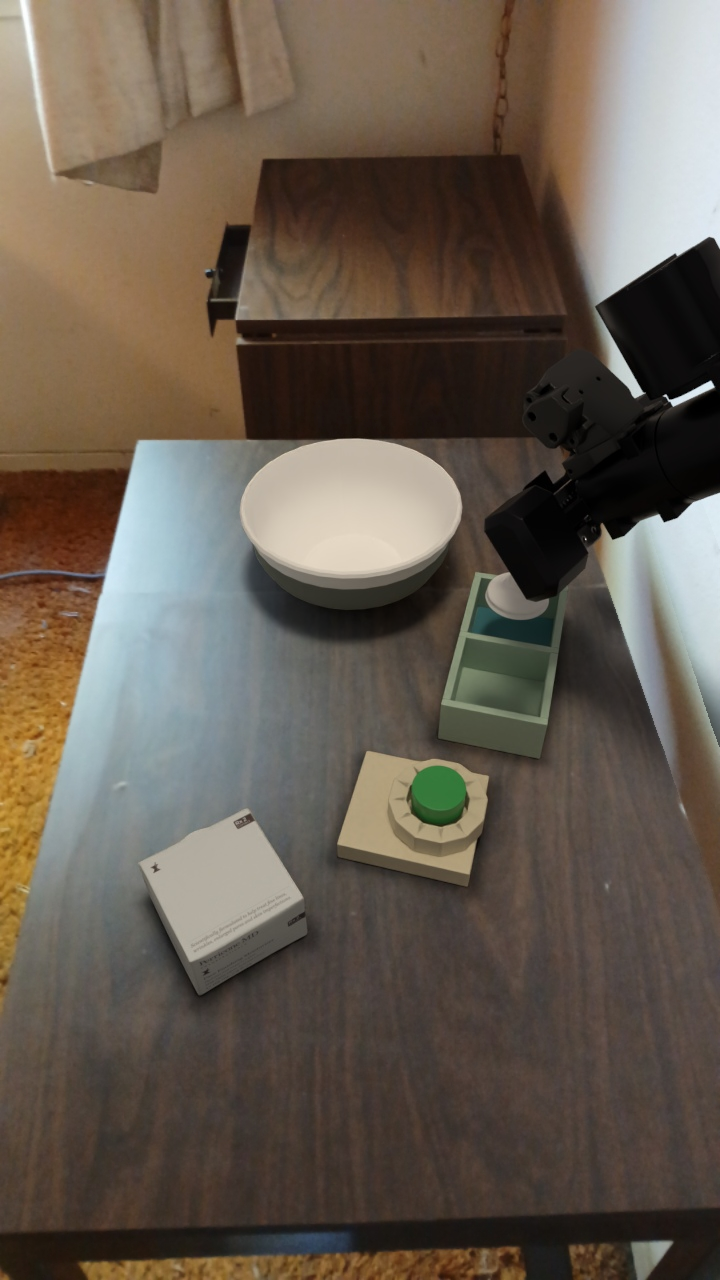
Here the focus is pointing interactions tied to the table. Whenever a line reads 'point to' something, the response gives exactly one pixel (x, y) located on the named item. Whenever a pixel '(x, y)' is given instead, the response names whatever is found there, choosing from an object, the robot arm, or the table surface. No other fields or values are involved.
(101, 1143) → the table surface
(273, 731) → the table surface
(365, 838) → the beige button base
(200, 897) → the small box
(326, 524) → the bowl
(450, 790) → the button
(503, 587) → the chess piece
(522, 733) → the green divided tray
